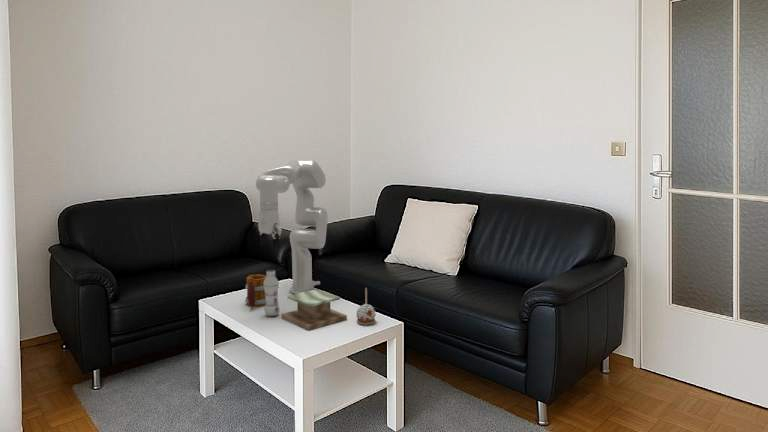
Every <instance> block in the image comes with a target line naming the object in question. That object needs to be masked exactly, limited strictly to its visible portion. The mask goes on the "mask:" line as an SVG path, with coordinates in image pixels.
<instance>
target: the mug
mask: <svg viewBox="0 0 768 432" xmlns="http://www.w3.org/2000/svg"><path fill="white" fill-rule="evenodd" d="M266 277H267V275H266V274H265V275H264V274H251V275H248V276H247V277H245V278H246V284H245V287H244V288H245V289H246V292H247V293H246V297H245V300H244V302H245V303H246V306H247V307H250V309H254V308H260V307H265V290H264V285H263V283H264V280H265V278H266Z"/></svg>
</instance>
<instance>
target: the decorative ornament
mask: <svg viewBox="0 0 768 432" xmlns="http://www.w3.org/2000/svg"><path fill="white" fill-rule="evenodd" d="M364 296H365V297H364V298H365V301H364V304H362V305H359V307H358V308H357V310H356V318H357V319H356V323H357V324H358V325H359V324H360V325H367V326H368V325H371V324H372V325H373V324H375V323H376V318H375V317H376V310H375V307H373V306H372V305H371V304H368V288H367V287H365V288H364Z"/></svg>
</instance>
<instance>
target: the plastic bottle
mask: <svg viewBox="0 0 768 432" xmlns="http://www.w3.org/2000/svg"><path fill="white" fill-rule="evenodd" d="M265 275H266V276H267V277H266V278H265V280H264V283H263V285H264V290H265V306H263V307H264V308H263V309H264V314H265V316H268V317H275V316H278V315H279V314H280V311H281V309H280V304H279V296H278V294H279V285H280V284H279V279H278V278H277V277H276V270H274V269H269V270H266V274H265Z"/></svg>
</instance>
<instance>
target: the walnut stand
mask: <svg viewBox="0 0 768 432" xmlns="http://www.w3.org/2000/svg"><path fill="white" fill-rule="evenodd" d="M287 299H289V300H291V301H292V302H295V303H296V304H297V309H296V310H292V311H288V312H284V313H281V319H282V320H284V321H286V322H288V323H291V324H292V325H294V326H297V327H300V328H302V329H305V330H306V331H312V330H315V329H319V328H322V327H326V326H330V325H334V324H337V323H340V322H343V321H347V320H348V315H347V314H344V313H342V312H340V311H336V310H334V309H331V302H336V301H340V300H341V297H340V296H338V295H335V294H332V293H330V292H328V291H325V290H321V289H319V288H317V289H316V288H315V290H312V291H308V292H303V293H299V294H291V295H288V296H287Z"/></svg>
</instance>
